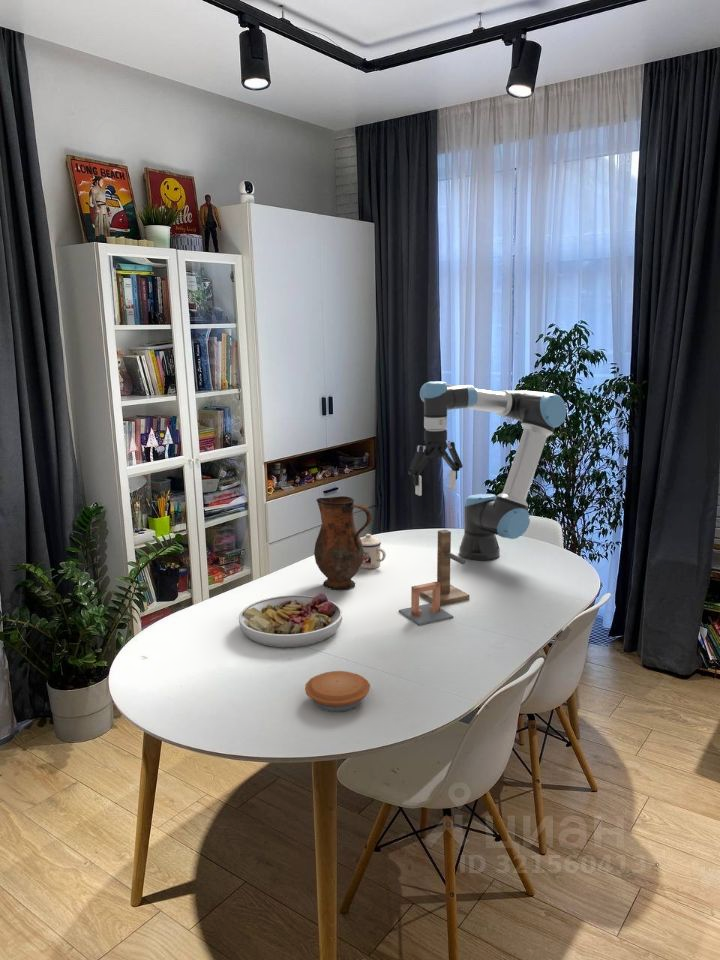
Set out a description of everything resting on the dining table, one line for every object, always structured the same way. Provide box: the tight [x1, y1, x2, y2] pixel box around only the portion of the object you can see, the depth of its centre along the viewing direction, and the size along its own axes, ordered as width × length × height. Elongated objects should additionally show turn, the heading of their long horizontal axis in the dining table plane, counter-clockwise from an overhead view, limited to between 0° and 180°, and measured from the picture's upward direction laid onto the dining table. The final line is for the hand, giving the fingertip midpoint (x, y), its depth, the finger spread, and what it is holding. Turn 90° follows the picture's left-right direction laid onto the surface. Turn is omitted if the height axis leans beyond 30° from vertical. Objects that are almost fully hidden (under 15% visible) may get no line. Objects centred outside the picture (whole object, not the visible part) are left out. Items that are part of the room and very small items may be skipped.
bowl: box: [238, 592, 343, 648], centre depth 221 cm, size 30×30×8 cm
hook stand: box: [419, 529, 470, 607], centre depth 241 cm, size 16×12×22 cm
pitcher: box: [313, 495, 372, 591], centre depth 253 cm, size 17×21×30 cm
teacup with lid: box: [359, 533, 387, 569], centre depth 275 cm, size 12×9×12 cm
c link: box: [410, 581, 441, 617], centre depth 230 cm, size 9×2×9 cm, turn 117°
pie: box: [304, 670, 371, 713], centre depth 181 cm, size 16×16×5 cm
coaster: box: [398, 602, 454, 626], centre depth 231 cm, size 12×12×1 cm
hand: (435, 492), depth 254 cm, fingers open, 13 cm apart
